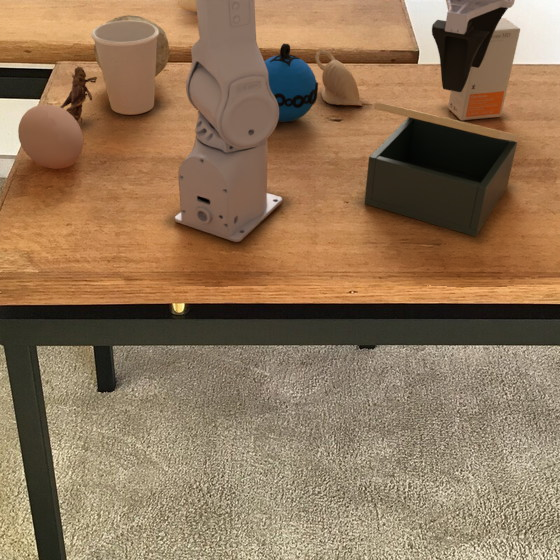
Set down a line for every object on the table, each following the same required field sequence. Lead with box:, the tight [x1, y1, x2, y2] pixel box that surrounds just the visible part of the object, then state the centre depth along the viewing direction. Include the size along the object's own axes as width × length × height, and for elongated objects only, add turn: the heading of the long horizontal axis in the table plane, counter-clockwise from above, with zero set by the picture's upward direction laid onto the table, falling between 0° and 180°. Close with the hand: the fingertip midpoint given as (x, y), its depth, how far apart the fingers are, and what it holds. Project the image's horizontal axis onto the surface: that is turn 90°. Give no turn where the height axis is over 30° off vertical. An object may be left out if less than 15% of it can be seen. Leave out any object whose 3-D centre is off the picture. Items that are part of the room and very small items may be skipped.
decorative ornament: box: [314, 49, 363, 107], centre depth 105 cm, size 4×8×5 cm, turn 23°
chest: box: [364, 117, 518, 238], centre depth 84 cm, size 12×13×6 cm
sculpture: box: [93, 14, 170, 78], centre depth 105 cm, size 10×4×10 cm, turn 95°
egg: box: [17, 103, 84, 170], centre depth 88 cm, size 7×7×10 cm
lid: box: [373, 101, 520, 142], centre depth 81 cm, size 12×13×1 cm
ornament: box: [264, 43, 319, 123], centre depth 98 cm, size 9×9×10 cm
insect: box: [59, 64, 98, 126], centre depth 97 cm, size 4×8×5 cm
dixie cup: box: [90, 20, 159, 116], centre depth 100 cm, size 8×8×10 cm
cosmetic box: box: [447, 17, 521, 122], centre depth 100 cm, size 6×4×12 cm
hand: (461, 77), depth 87 cm, fingers open, 7 cm apart
